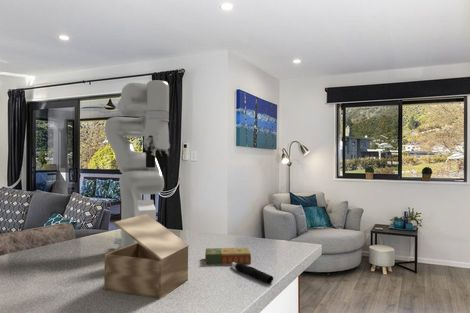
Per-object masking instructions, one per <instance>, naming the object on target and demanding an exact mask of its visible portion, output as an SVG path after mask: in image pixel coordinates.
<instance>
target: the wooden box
mask: <svg viewBox="0 0 470 313" xmlns="http://www.w3.org/2000/svg"><path fill="white" fill-rule="evenodd" d="M103 277H104V280H103V281H104V282H103V284H104V285H103V286H104V287H103V289H104V291H108V292H109V291H110V292H115V293H122V294H128V295H134V296H140V297H147V298H151V299H152V298H153V299H159V300H160V299H163V298H164V297H166V296H167V295H168V294H170V293H171V292H173V291H174V290H175V289H177V288H179V287H180V286H181V285H183V284H184V283H186V282H187V281H188V280H189V246H188V247H187V248H185V249H183V250H181V251H179V252H177V253H175V254H173V255H171V256H169V257H167V258H165V259H163V260H159V259H158V258H157V257H156V256H154V255H153V254H152V253H151V252H149V251H148V250H147V249H145V248H144V247H143V246H142V245H140V244H139V243H138V242H137V243H134V244H131V245H129V246H126V247H123V248H121V249H118V250H117V249H115V250H113V251H110V252H107V253H105V254H104V276H103Z"/></svg>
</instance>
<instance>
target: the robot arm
mask: <svg viewBox="0 0 470 313" xmlns="http://www.w3.org/2000/svg"><path fill="white" fill-rule="evenodd" d="M116 106H117V107H116V108H117V110H118V112H119V113H120V114H121V115H123V116H114V117H113V116H112V117H110V118H108V119H107V120H106V121H105V125H104V130H105V137H106V141H107V143H109V146H110V147H111V149H112V150H113V153H114V156H115V159H116V162H117V166H118V167H117V168H118V169H119V172H120V173H121V174H120V177H119V181H118V183H119V190H120V191H119V192H120V197H121V206H120V207H121V210H120V211H121V214H120V216H121V219H120V221H121V220H125V219H128V218H132V217H135V208H136V206H137V201H138V200H143V199H142V197H141V196H142V195H158V194H160V193H162V191H163V190H164V188H165V180H164V175H163V173H162V170H161V168H169V156H170V148H171V143H170V130H169V122H170V120H169V119H170V85H169V83H168V82H167V81H165V80H161V79H157V80H155V79H153V80H150V81H148V82H147V83H141V82H128V83H126V84H125V85H124V86H123V88H122V90H121V93H120V99H119V100H118V102H117V105H116ZM126 137H129V138H130V137H131V138H142V137H143V150H144V152H141V151H136V148H135V145H134V144H133V143H132V142H131V141H130V140H129V139H127V138H126ZM156 151H159V154H160V155H159V162H158V159H157V157H156V155H155V153H156ZM120 233H121V234H120V238H119V237H116V238H115V239H114V241H113V244H115V245H118V247H117V248H116V250H118V249H121V248H123V247H126V246H129V245H131V244H134V243H135V240H134V239H133V238H131V237H130V236H129V235H127V234H126V233H125V232H124V231H122V230H121V229H120Z"/></svg>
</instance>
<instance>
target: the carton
mask: <svg viewBox="0 0 470 313" xmlns="http://www.w3.org/2000/svg"><path fill="white" fill-rule="evenodd" d="M204 258H205V265H232V263H233V262H235V263H236V264H237V263H241V264H244V265H249V264H250V265H251V264H252V262H251V260H252V254H251V251H250V249H249V248H248V247H223V248H221V247H216V248H212V247H211V248H208V247H207V248H205V257H204Z"/></svg>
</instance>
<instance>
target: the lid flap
mask: <svg viewBox="0 0 470 313" xmlns="http://www.w3.org/2000/svg"><path fill="white" fill-rule="evenodd" d="M113 224H114V225H115V226H116V227H117V228H118V229H119V230H120V231H121V230H122V231H124V232H125V233H126V234H127V235H129V236H130V237H131V238H133V239H134V240H135V241H136V242H138V243H139V244H140V245H142V246H143V247H144V248H145V249H147V250H148V251H149V252H151V253H152V254H153V255H154V256H156V257H157V258H158V259H159V260H163V259H165V258H167V257H169V256H171V255H173V254H175V253H177V252H179V251H181V250H183V249H185V248H187V247H188V248H189V247H190V245H189V244H188V243H186V241H184V240H182V239H181V238H180V237H179V236H177V235H176V234H175V233H173V232H172V231H171V230H169V229H168V228H167V227H165V226H164V225H163V224H161V223H160V222H158V221H157V219H156V220H154V219H153V218H152V217H150V216H149V215H148V214H144V215H140V216H136V217H132V218H128V219H125V220H121V219H120V220H118V221H114V222H113Z"/></svg>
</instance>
